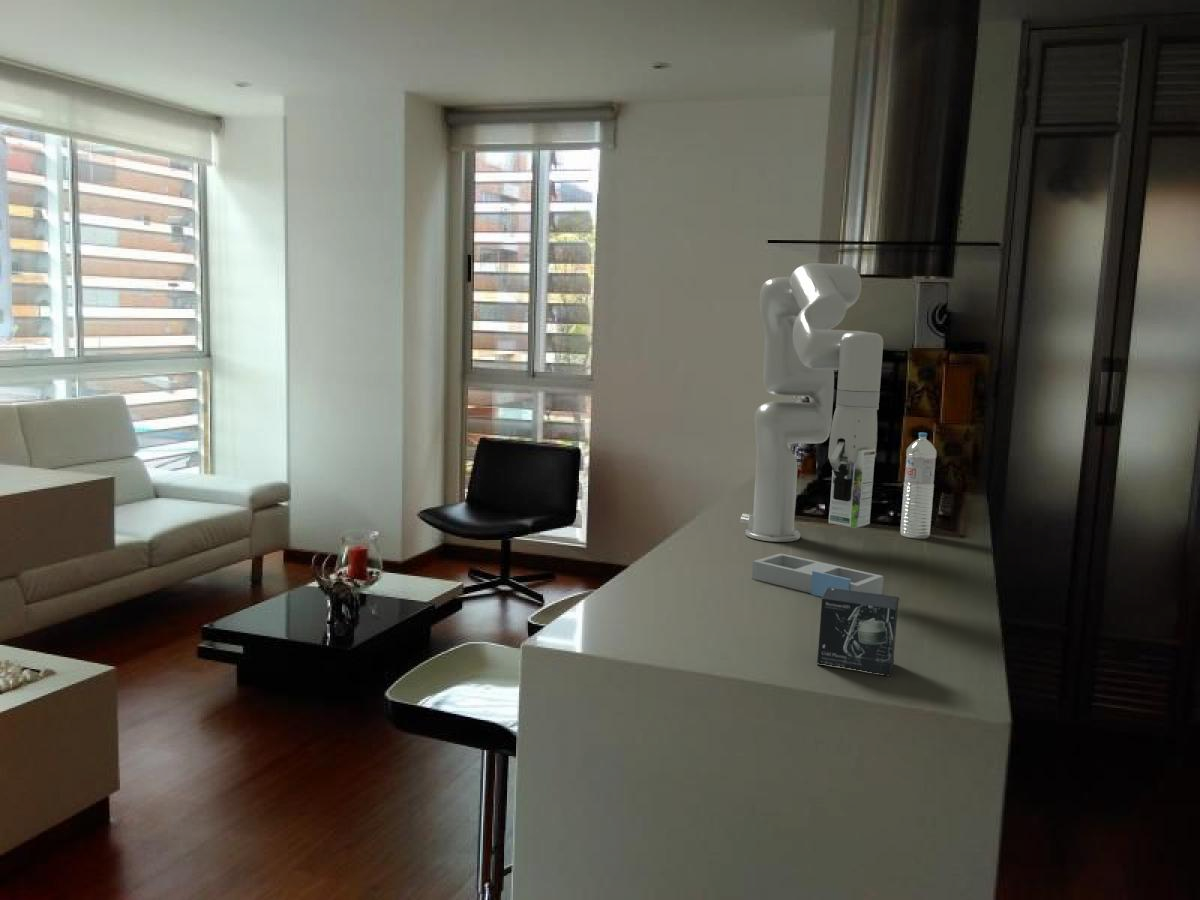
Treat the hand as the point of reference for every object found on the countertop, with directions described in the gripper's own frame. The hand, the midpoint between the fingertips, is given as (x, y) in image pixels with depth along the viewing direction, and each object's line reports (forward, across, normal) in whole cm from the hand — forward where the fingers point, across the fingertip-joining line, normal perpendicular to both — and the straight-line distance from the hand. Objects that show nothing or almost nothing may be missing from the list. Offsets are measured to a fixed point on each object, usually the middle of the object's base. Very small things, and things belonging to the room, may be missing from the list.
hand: (850, 497), depth 177 cm
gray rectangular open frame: (+18, 0, -6) cm, 19 cm away
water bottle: (+18, -58, -13) cm, 62 cm away
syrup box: (+5, 0, 0) cm, 5 cm away
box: (+19, +33, +20) cm, 43 cm away
